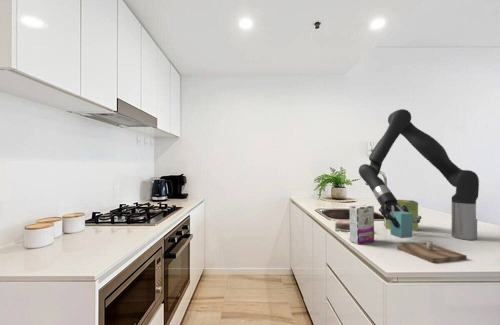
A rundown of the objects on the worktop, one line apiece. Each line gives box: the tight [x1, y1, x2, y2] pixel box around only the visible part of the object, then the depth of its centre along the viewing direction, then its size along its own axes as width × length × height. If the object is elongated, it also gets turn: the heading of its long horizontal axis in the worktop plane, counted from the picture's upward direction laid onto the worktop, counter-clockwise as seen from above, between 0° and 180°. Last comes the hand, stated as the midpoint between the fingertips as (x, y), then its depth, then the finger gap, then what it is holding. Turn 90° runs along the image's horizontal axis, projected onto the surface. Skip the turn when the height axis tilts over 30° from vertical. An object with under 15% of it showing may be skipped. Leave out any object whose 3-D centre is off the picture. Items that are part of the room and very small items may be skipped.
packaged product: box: [334, 220, 350, 233], centre depth 136 cm, size 18×5×10 cm
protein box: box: [383, 199, 419, 232], centre depth 143 cm, size 10×15×16 cm
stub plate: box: [396, 241, 468, 264], centre depth 101 cm, size 16×16×4 cm
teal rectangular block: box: [390, 211, 413, 239], centre depth 114 cm, size 6×6×11 cm
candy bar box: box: [349, 204, 375, 245], centre depth 117 cm, size 11×5×16 cm, turn 117°
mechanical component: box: [412, 214, 422, 226], centre depth 129 cm, size 3×10×10 cm, turn 79°
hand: (404, 226), depth 113 cm, fingers closed on teal rectangular block, 6 cm apart
